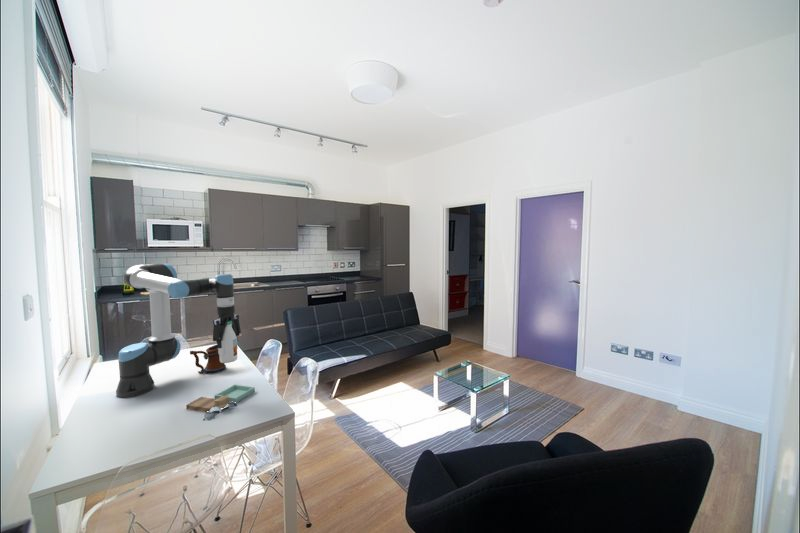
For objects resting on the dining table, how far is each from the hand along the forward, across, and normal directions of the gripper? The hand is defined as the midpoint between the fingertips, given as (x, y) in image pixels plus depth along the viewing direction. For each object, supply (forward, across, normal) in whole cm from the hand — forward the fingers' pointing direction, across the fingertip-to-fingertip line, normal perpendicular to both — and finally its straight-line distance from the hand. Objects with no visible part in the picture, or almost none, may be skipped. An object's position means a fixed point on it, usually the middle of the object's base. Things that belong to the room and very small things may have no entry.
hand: (228, 351), depth 156 cm
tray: (+22, 0, -3) cm, 22 cm away
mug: (+22, +21, +36) cm, 47 cm away
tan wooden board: (+23, -12, +2) cm, 26 cm away
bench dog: (+22, -12, -7) cm, 26 cm away
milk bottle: (+5, 0, 0) cm, 5 cm away
